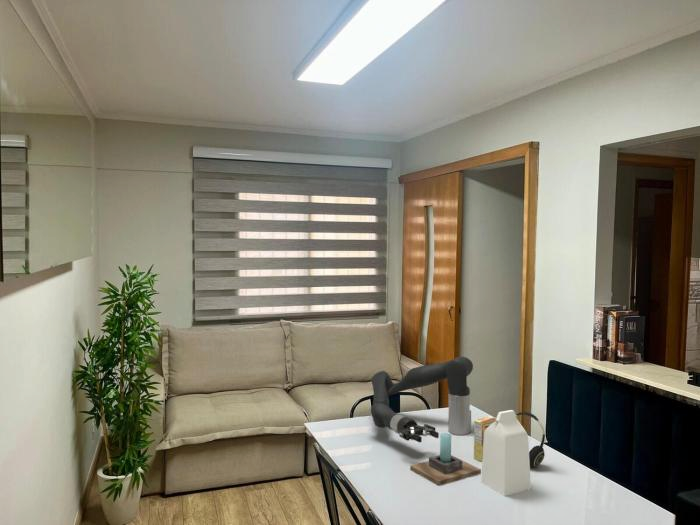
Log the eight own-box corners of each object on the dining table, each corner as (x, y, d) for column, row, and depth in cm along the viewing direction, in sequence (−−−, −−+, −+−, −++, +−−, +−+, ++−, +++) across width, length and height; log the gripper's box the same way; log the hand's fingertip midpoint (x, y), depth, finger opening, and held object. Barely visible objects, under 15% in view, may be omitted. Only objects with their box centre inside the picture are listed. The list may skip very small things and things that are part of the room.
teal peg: (445, 464, 208) (446, 432, 208) (453, 468, 205) (453, 435, 204) (437, 466, 206) (438, 434, 205) (444, 470, 203) (445, 437, 202)
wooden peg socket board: (451, 458, 217) (451, 447, 217) (480, 473, 204) (480, 461, 204) (410, 469, 207) (410, 457, 207) (438, 485, 193) (438, 472, 193)
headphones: (516, 456, 220) (517, 406, 220) (550, 467, 209) (551, 415, 208) (503, 461, 215) (504, 410, 214) (537, 473, 204) (538, 419, 203)
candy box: (487, 453, 223) (487, 415, 222) (496, 456, 220) (496, 418, 219) (473, 459, 217) (473, 420, 217) (482, 462, 214) (482, 422, 213)
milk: (504, 495, 186) (505, 418, 185) (481, 482, 196) (481, 409, 195) (530, 488, 191) (531, 413, 190) (507, 476, 201) (507, 404, 200)
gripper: (417, 431, 231) (443, 443, 217) (389, 438, 223) (414, 451, 209) (417, 413, 230) (443, 424, 217) (389, 419, 223) (415, 431, 209)
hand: (429, 437), depth 213 cm, fingers open, 8 cm apart
